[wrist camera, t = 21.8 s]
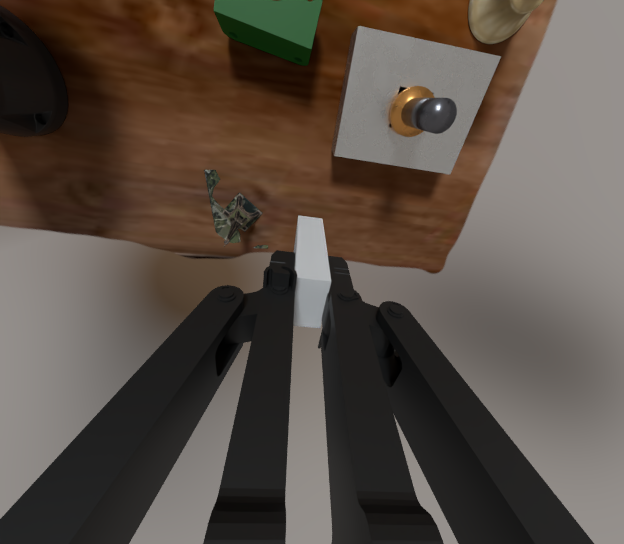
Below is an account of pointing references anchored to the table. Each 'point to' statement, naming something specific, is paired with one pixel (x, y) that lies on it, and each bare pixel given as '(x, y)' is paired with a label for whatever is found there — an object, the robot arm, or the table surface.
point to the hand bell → (498, 18)
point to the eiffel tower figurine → (231, 213)
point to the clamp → (272, 25)
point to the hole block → (398, 76)
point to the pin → (421, 112)
